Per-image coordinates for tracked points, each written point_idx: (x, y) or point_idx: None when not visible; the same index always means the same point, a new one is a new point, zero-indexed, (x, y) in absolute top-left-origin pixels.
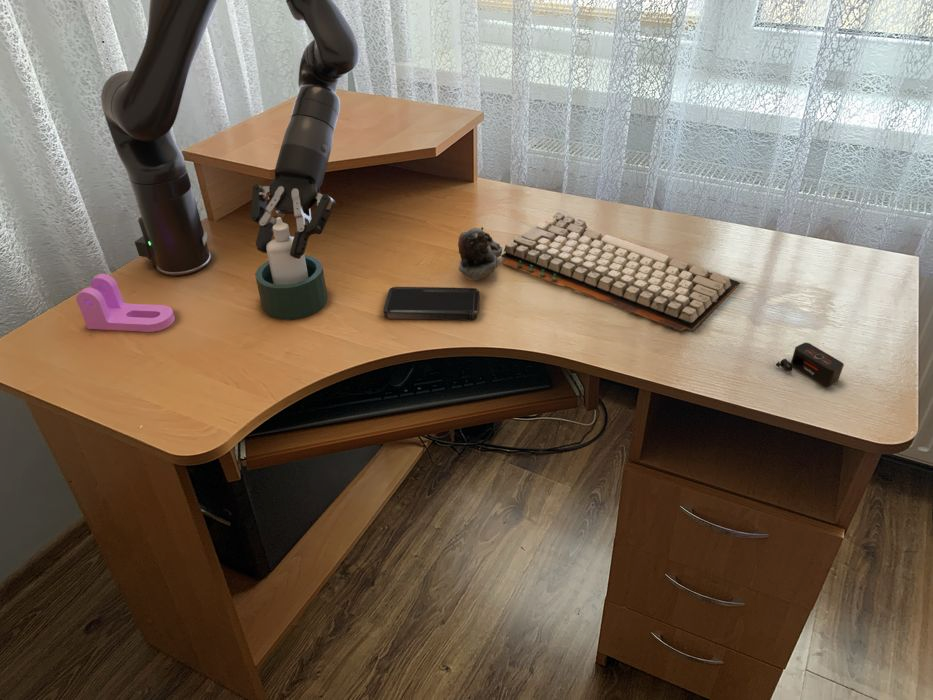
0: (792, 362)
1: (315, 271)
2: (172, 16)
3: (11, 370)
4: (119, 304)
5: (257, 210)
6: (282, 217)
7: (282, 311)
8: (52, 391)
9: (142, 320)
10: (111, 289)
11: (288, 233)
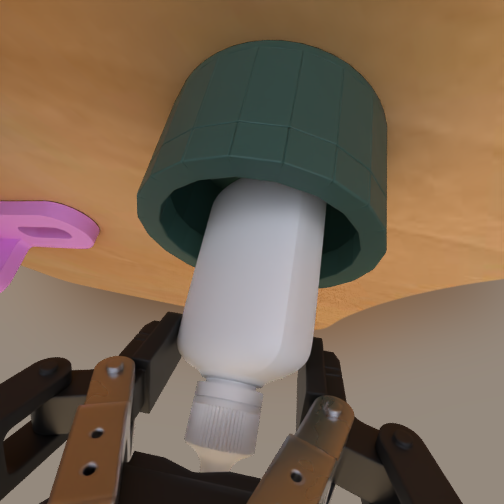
0: None
1: (361, 246)
2: None
3: (47, 274)
4: None
5: (39, 461)
6: (128, 412)
7: None
8: (118, 290)
9: (65, 243)
10: None
11: (258, 419)
